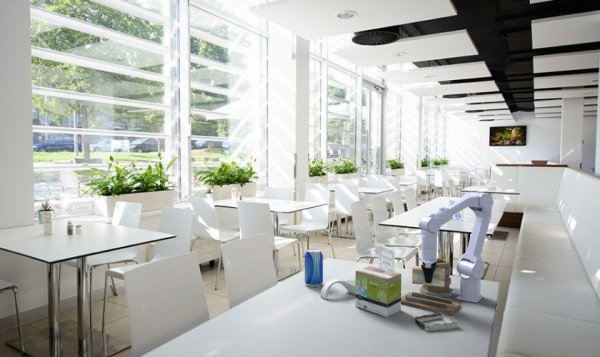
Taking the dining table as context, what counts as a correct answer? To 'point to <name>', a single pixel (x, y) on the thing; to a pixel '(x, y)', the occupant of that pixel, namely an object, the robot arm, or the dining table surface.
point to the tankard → (445, 290)
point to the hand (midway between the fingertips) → (428, 281)
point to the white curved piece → (346, 283)
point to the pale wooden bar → (436, 280)
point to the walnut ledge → (430, 303)
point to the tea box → (378, 290)
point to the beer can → (313, 268)
